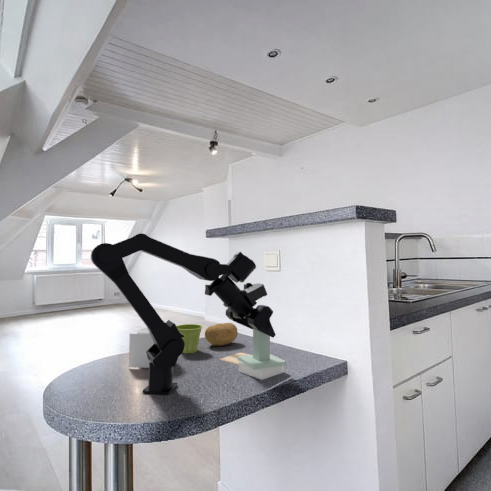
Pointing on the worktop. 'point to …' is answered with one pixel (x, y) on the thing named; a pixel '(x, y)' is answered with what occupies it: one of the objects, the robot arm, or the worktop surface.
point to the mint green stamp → (261, 353)
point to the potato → (221, 334)
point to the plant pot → (190, 336)
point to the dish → (260, 371)
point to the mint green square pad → (233, 358)
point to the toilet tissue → (140, 348)
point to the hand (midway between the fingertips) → (265, 332)
